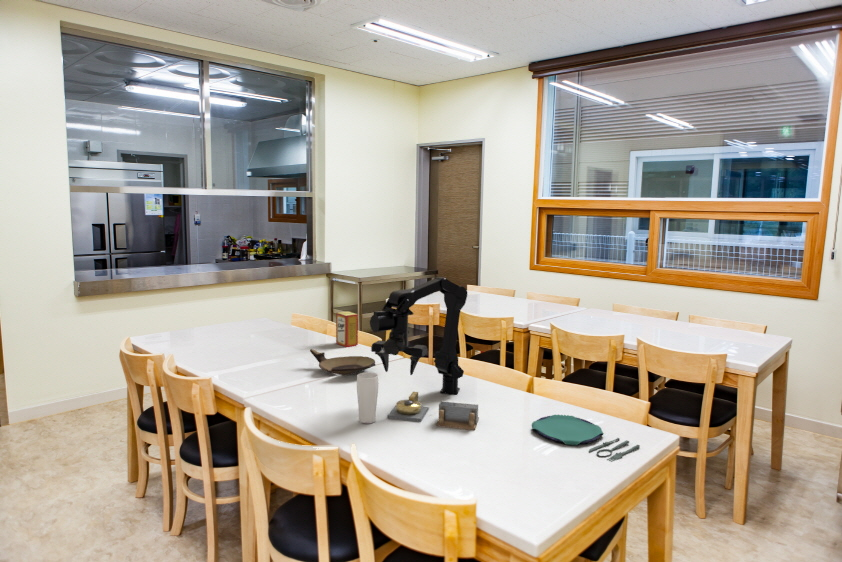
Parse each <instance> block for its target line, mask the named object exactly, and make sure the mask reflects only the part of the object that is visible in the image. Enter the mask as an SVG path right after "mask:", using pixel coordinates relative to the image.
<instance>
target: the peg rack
mask: <svg viewBox="0 0 842 562" xmlns="http://www.w3.org/2000/svg"><path fill="white" fill-rule="evenodd" d="M474 416H475V414H474V413H469V423H460V422H450V421H444V410H439V409H438V420H437V423H436V426H437V427H443V428H450V429H451V428H453V429H462V430H471V431H475V430H476V428H477V426H478V423H479V420H480V417H479V416H478V421H477V424H474Z"/></svg>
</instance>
